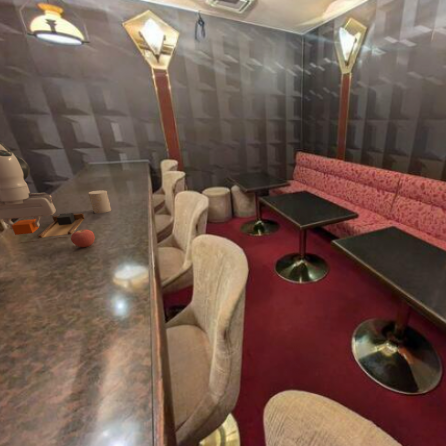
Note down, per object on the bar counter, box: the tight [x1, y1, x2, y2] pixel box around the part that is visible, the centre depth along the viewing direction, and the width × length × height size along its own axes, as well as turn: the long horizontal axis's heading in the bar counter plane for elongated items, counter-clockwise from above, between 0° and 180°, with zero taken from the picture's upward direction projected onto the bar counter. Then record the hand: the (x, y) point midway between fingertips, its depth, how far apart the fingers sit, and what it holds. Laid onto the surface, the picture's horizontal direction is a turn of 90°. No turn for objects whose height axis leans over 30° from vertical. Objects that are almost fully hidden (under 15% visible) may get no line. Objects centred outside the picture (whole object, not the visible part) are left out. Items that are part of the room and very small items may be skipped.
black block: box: [57, 212, 75, 225], centre depth 125 cm, size 5×6×4 cm
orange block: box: [12, 218, 40, 236], centre depth 99 cm, size 5×6×4 cm
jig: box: [37, 212, 85, 239], centre depth 120 cm, size 12×22×4 cm, turn 28°
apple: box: [70, 229, 96, 248], centre depth 103 cm, size 7×7×8 cm
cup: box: [88, 189, 112, 214], centre depth 143 cm, size 8×8×12 cm
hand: (25, 227), depth 99 cm, fingers closed on orange block, 5 cm apart
